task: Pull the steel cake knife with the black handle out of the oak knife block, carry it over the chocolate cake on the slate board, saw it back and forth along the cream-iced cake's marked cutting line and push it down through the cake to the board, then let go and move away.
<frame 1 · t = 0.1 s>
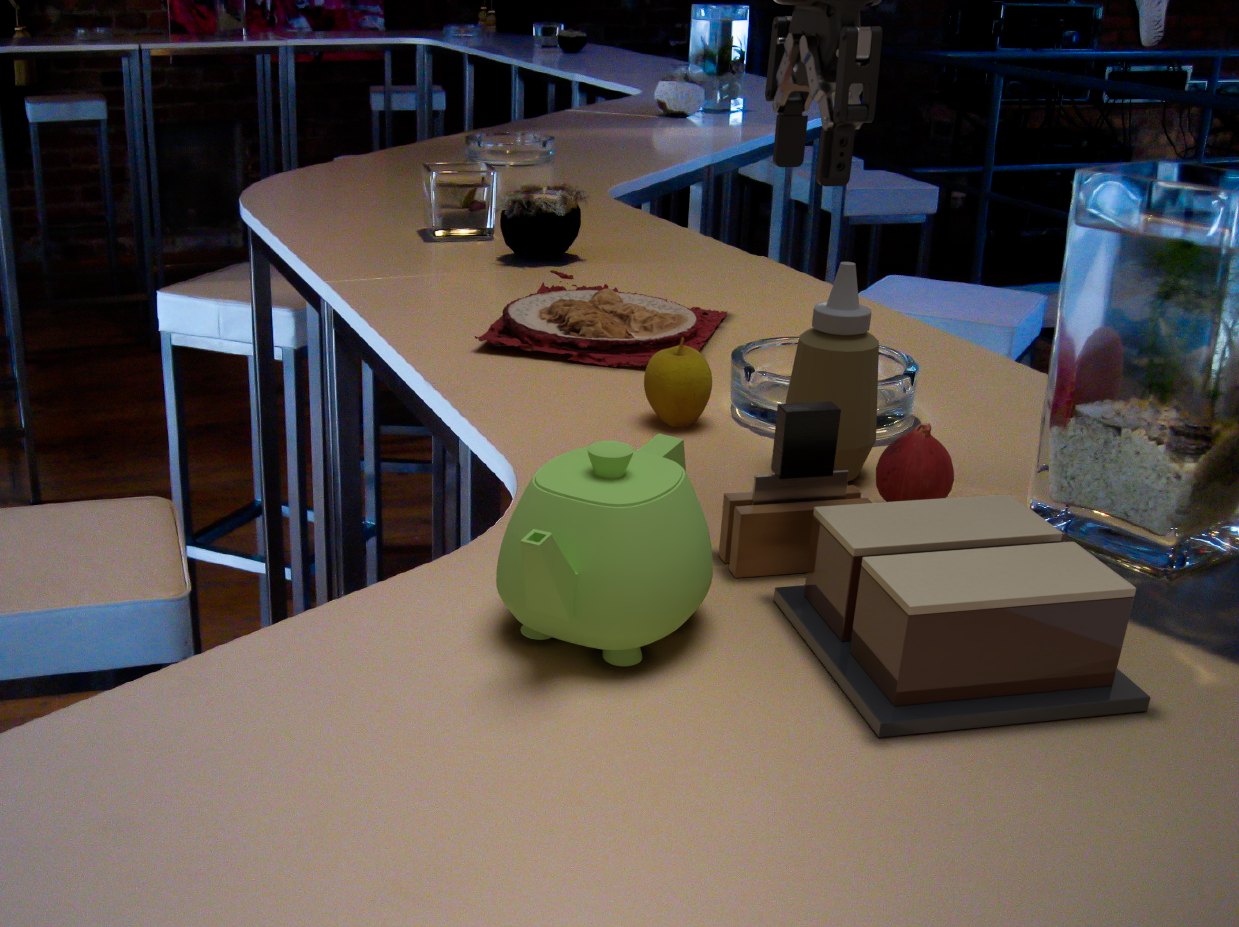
hand: (808, 175, 92), 26 cm above the worktop, tool pointing down, fingers open, 8 cm apart
knife block: (791, 561, 93), on the worktop
cake: (946, 651, 81), on the worktop
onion: (907, 520, 100), on the worktop
plate with food: (607, 333, 147), on the worktop
teapot: (601, 627, 84), on the worktop
knife: (791, 561, 93), on the worktop
squeeze bottle: (822, 474, 108), on the worktop
apple: (675, 424, 119), on the worktop
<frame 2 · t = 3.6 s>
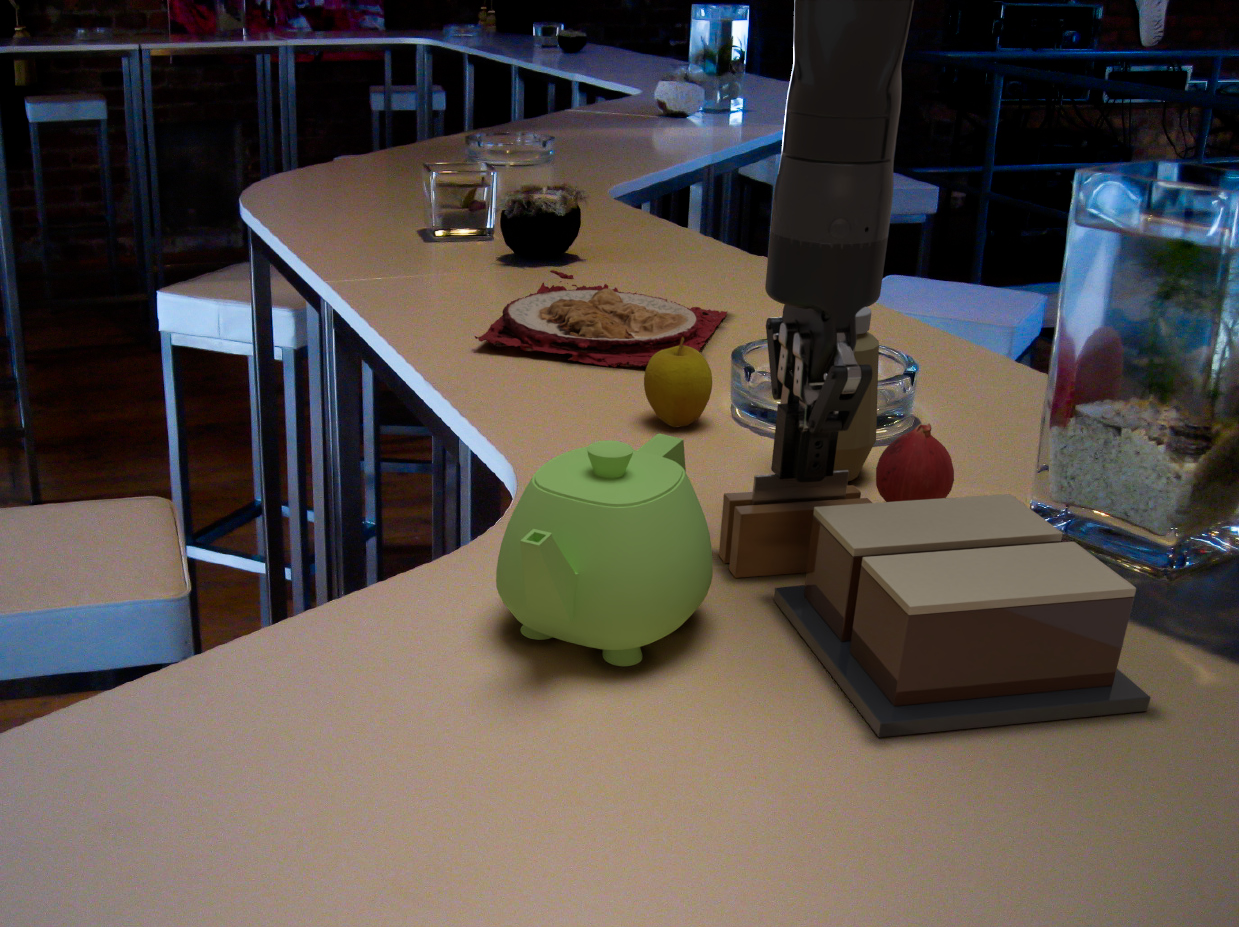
hand: (801, 472, 90), 7 cm above the worktop, tool pointing down, fingers closed on knife, 2 cm apart
knife: (791, 561, 93), on the worktop, touching gripper
everything else where it was.
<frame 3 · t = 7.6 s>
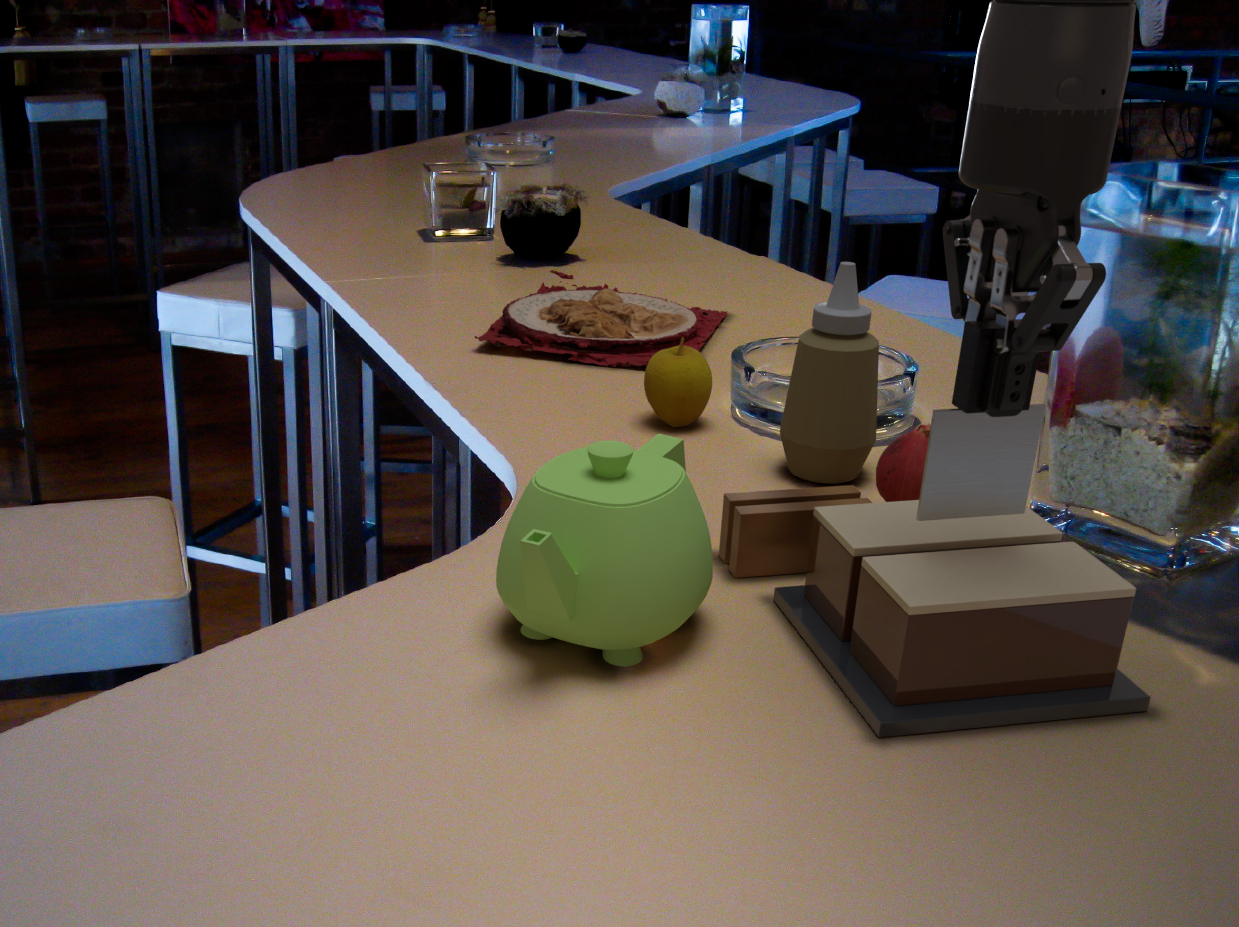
hand: (990, 406, 74), 17 cm above the worktop, tool pointing down, fingers closed on knife
knife: (970, 516, 77), point 10 cm above the worktop, touching gripper
everything else where it was.
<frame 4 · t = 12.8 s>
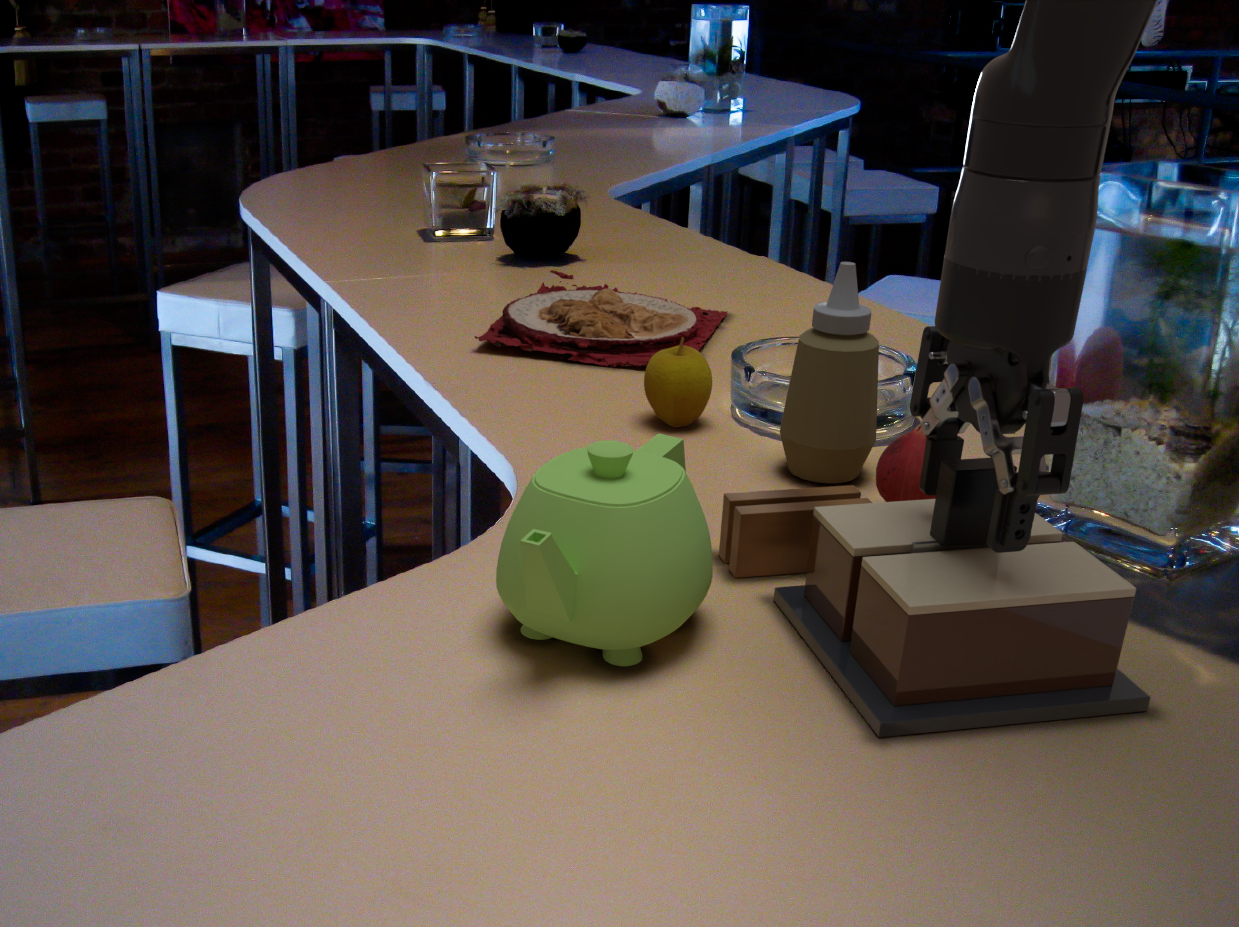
hand: (969, 519, 77), 9 cm above the worktop, tool pointing down, fingers open, 8 cm apart
knife: (948, 638, 81), point 1 cm above the worktop, touching cake
everything else where it was.
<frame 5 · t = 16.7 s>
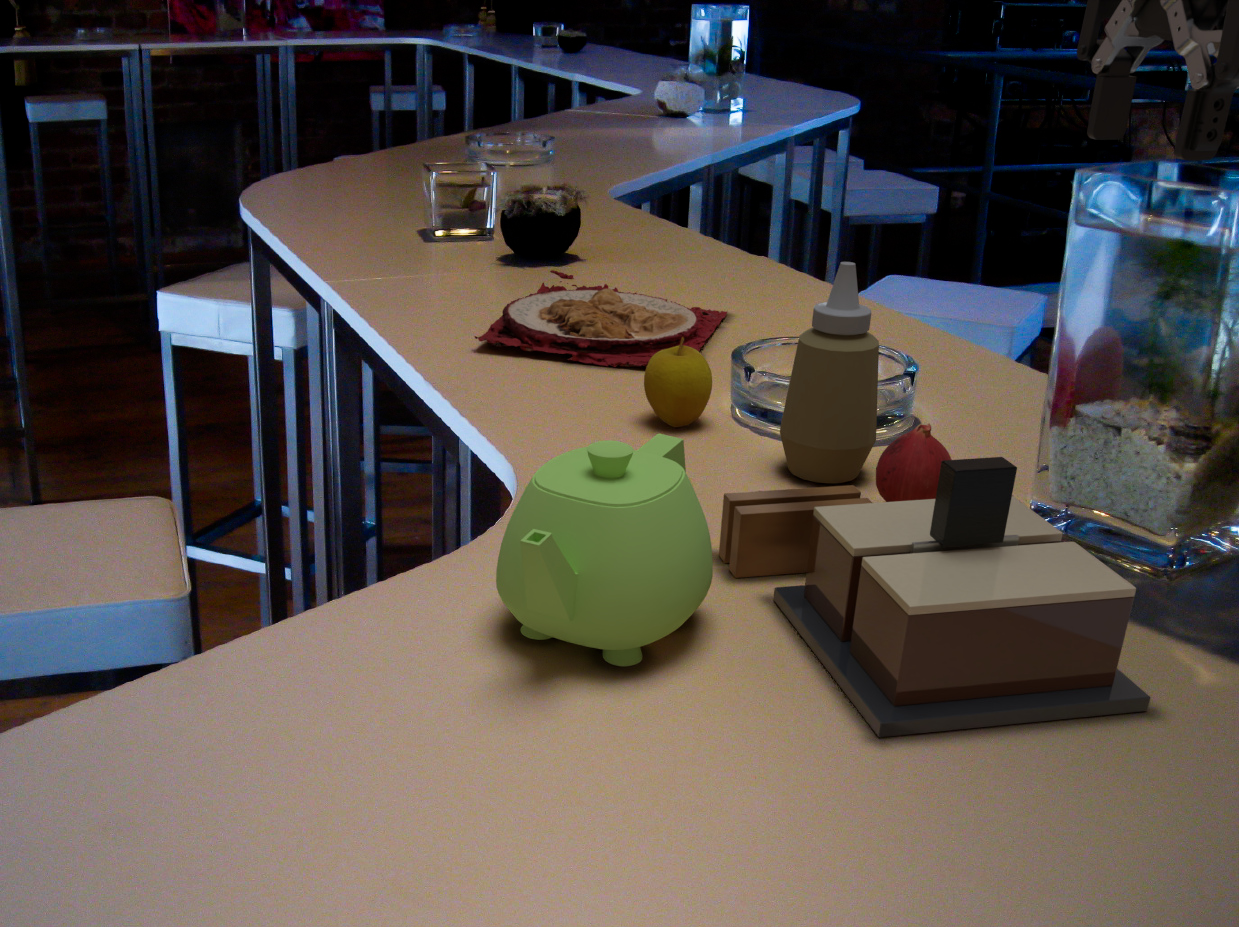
hand: (1146, 148, 75), 30 cm above the worktop, tool pointing down, fingers open, 8 cm apart
nothing on the worktop moved.
at the end: knife 0.1 cm off-centre on the cake, point 1.0 cm above the cake's base; knife tilted 0°; the gripper is holding nothing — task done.
